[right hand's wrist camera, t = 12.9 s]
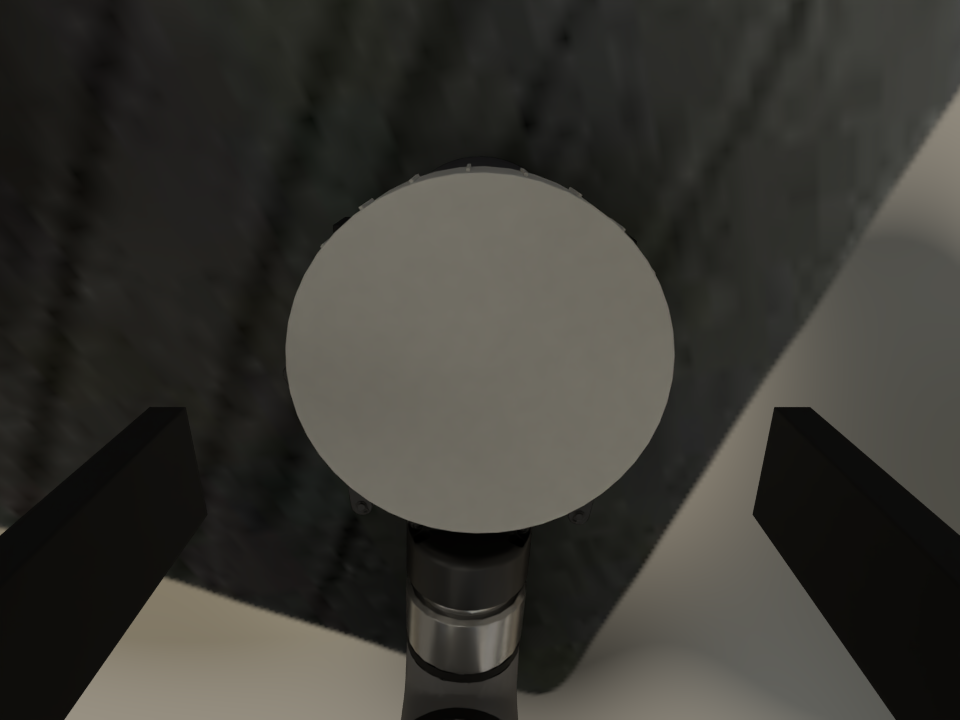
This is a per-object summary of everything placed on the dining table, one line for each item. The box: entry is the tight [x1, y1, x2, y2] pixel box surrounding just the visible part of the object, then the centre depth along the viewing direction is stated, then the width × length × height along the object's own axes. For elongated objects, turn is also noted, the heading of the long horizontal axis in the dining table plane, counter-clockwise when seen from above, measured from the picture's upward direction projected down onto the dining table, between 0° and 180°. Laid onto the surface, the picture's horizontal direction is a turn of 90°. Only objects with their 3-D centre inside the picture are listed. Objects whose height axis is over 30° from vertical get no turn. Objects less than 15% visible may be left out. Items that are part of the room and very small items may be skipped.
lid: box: [285, 164, 675, 533], centre depth 19 cm, size 12×12×2 cm
